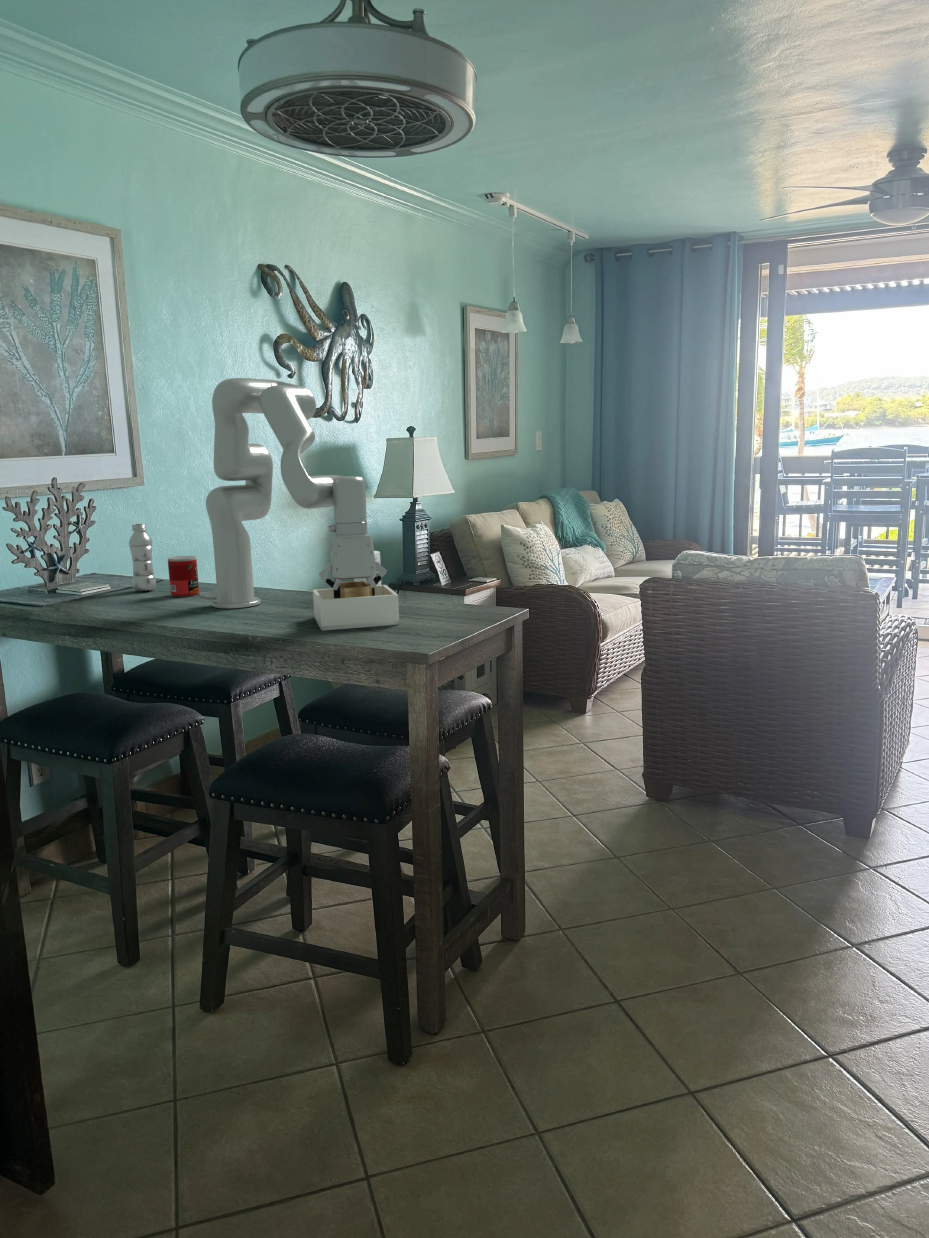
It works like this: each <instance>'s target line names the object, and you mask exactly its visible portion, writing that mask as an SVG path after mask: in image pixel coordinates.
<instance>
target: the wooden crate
mask: <svg viewBox="0 0 929 1238" xmlns="http://www.w3.org/2000/svg"><path fill="white" fill-rule="evenodd" d="M339 590H340V598H352V597H366V596H372V586H370V585H369V584H368V583H367V582H366V581H354V580H353V581H341V583H340V585H339Z"/></svg>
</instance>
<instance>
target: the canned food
mask: <svg viewBox="0 0 929 1238" xmlns="http://www.w3.org/2000/svg"><path fill="white" fill-rule="evenodd" d="M167 566H168V567H167V568H168V577H169V589H170V594H171V596H172V595H173V596H192V597H195V596H194V595H197V594H198V595H200V585H199V583H200V582H199V573H198V562H197V556H195V555H180V556H172V557H168V558H167ZM198 595H197V596H198ZM173 596H172V597H173Z"/></svg>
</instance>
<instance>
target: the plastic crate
mask: <svg viewBox="0 0 929 1238" xmlns="http://www.w3.org/2000/svg"><path fill="white" fill-rule="evenodd" d="M374 589H375V596H366V597H352V598H337V599H334V593H333V588H332V587H331V588H320V589H312V601H313V615H314V616H313V617H314V620H315V621H316V624H317V625H318V626H319V628H320V630H321V631H332V630H333V631H334V630H336V631H337V630H347V629H349V630H350V629H358V628H372V627H373V628H374V627H388V626H397V625H398V626H399V625H400V612H399V611H400V610H399V608H400V605H399V594H397V593H396V592H395V591H394V590H393V589H392V588H390V586H388V585H387V584H382V585H377V586H376V587H374Z"/></svg>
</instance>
